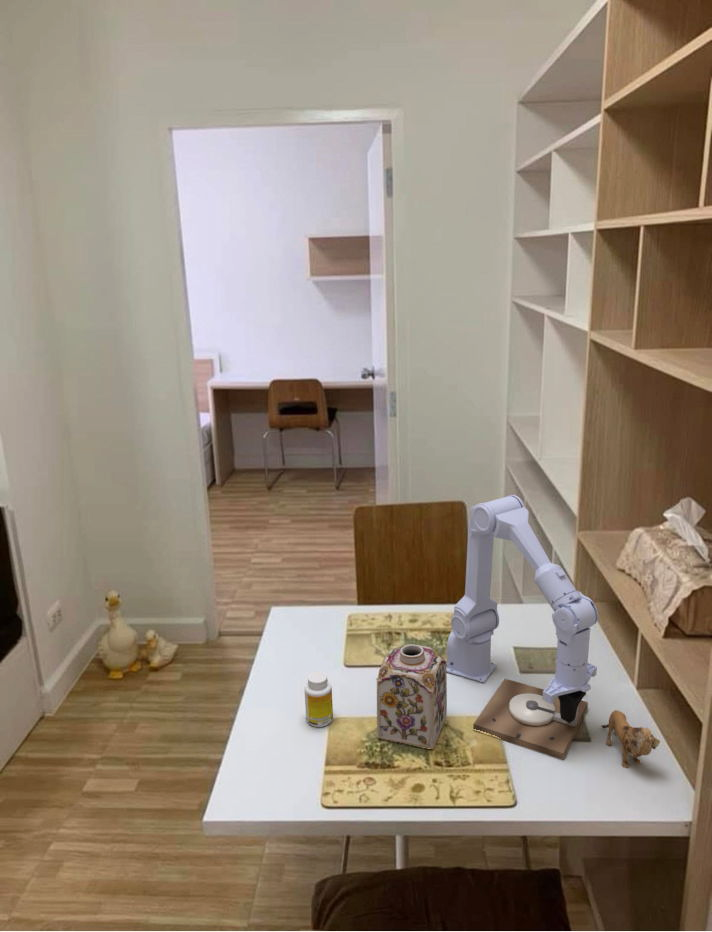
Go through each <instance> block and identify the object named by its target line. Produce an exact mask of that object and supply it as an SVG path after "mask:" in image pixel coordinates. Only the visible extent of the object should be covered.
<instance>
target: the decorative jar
mask: <svg viewBox="0 0 712 932" xmlns="http://www.w3.org/2000/svg"><path fill="white" fill-rule="evenodd" d="M446 668H447V659H445V658H444V656H442V655H441V654H440V653H438V652H437V651H435V650H434V649H433V648H432V647H430V646H425V645H420V644H413V643H412V644H411V643H410V644H405V645H401V646H397V647H395V648H394V647H393V648H391V649H389V650H388V651H387V652H386V654H385V655H384V656H383V659H382V661H381V665H380V668H379V670H378V675H377V678H376V725H377V726H376V727H377V728H376V729H377V730H376V731H377V738H378V739H379V738H381V739H380V740H382V739H385V740H384V741H388V740H391V741H390V742H392V741H395V742H394V743H397V742H401V743H406V744H410V745H416V746H419V747H425V748H430V749H433V748H435V746H436V743H437V741H438V739H439V737H440V734H441V731H442V728H443V727H444V726H443V725H444V723H445V720H446V717H447V712H448V711H447V709H448V708H447V707H448V695H447V694H448V689H447V688H448V687H447V679H448V678H447V677H448V676H447V673H448V672H447V670H446ZM401 743H400V744H401ZM406 744H405V745H406ZM410 745H409V746H410ZM419 747H418V748H419ZM433 750H434V749H433Z"/></svg>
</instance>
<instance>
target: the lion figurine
mask: <svg viewBox="0 0 712 932" xmlns="http://www.w3.org/2000/svg"><path fill="white" fill-rule="evenodd" d="M600 727H601V728H602V729H608V732H607V734H606V735H607V736H606V742H605V744H606V746H608V747H612V746H613V742H612V735H613V733H614V736H616V737H617V740H618V741H619V743H620V744H621V747H622V751H621V752H622V759H621V760H622V761H621V766H622V768H626V769H627V768H628V769H629V768H630V765H629V755H631V756H632V757H631V760H632V762H634V764H636V765H639V764H641V759H640V758H638V757H642V756H649V754H651V753H652V750H656V749H657V747H658V746H660V743H661V740H659V739H658V738H656V737H655V736H654V734H652V730H650V729H649V728H648V727H644V726H639V727H633V726H631V725H630V724H629V723H628V721H627V717H626V714H625V713H624V712H622V711H620V710H613V711H612V712H611V714H610V716H609V718H608V723H607V724H602V725H600Z"/></svg>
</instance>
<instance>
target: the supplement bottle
mask: <svg viewBox="0 0 712 932" xmlns="http://www.w3.org/2000/svg"><path fill="white" fill-rule="evenodd" d="M332 688H333V687H332V684H331V682H330V681H329V680H328V675H327V673H325V672H323V671H314V672H312V673H310V674H309V675H308V676H307V683H305V685H304V702H305V717H306V722H307V723H308V724H309V725H310V726H312V727H315V728H316V727H317V728H322V727H326V726H327V725H329V724H331V723H332V721H333V719H334V718H333V717H334V709H333V708H334V706H333V691H332V690H333V689H332Z"/></svg>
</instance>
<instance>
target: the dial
mask: <svg viewBox="0 0 712 932" xmlns="http://www.w3.org/2000/svg"><path fill="white" fill-rule="evenodd" d="M542 697H543V696H541V695H537V694H531V693H525V694H519V695H517V696H515V697H513V698H512V699H511V700H510V703H509V711H510V714H511V716H512V717H513V718H514V719H516V720H517V721H519V722H521V723H523V724H527V725H532V726H540V725H545V724H548V723H550V722H551V721H552V720H555V721H558V722H562V723H565V724H567V725H569V726H576V725H577V713H578V707H577V712H576V717H575V719H574V721H572V722H571V723H568V722H566V721H565V720H563V719H561V716H560V714H559V713H556V712H555V707H554V705H553V703H552V704H549V703H548V702H546V701H544V700H542Z"/></svg>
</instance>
